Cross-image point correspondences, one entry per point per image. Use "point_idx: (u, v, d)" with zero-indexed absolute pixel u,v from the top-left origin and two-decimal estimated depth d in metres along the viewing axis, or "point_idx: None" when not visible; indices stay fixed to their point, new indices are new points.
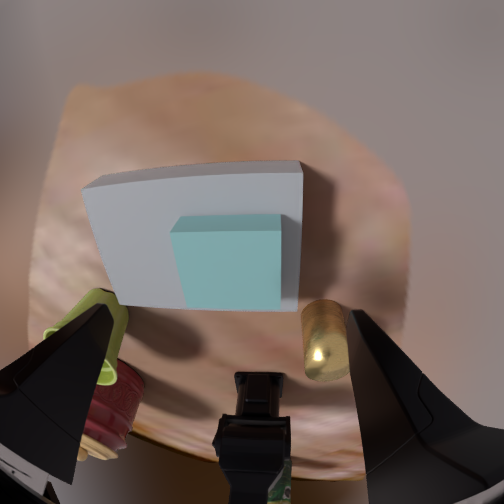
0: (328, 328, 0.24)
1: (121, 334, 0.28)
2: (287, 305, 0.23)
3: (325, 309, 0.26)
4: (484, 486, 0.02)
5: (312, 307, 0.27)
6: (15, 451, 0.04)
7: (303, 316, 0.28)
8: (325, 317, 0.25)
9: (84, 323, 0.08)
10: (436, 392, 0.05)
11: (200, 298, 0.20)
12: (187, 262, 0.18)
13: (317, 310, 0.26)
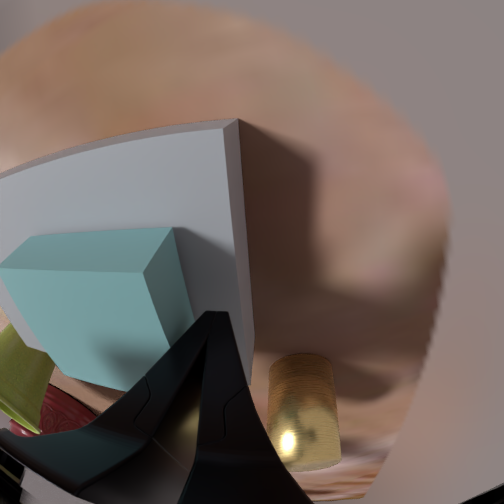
0: (304, 407, 0.14)
1: (43, 377, 0.17)
2: None
3: (303, 372, 0.16)
4: None
5: (284, 366, 0.17)
6: None
7: (270, 376, 0.17)
8: (302, 386, 0.15)
9: (205, 336, 0.08)
10: (247, 410, 0.05)
11: (72, 368, 0.10)
12: (31, 315, 0.08)
13: (291, 372, 0.16)
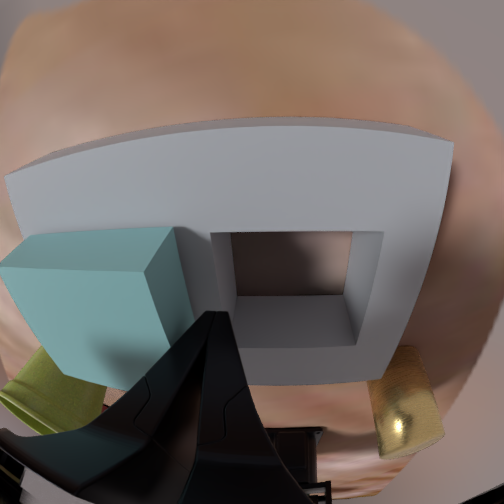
0: (416, 393, 0.13)
1: (100, 396, 0.17)
2: (369, 373, 0.12)
3: (406, 362, 0.15)
4: None
5: None
6: None
7: None
8: (409, 375, 0.14)
9: (205, 336, 0.08)
10: (247, 410, 0.05)
11: (71, 367, 0.10)
12: (31, 314, 0.08)
13: (396, 364, 0.15)
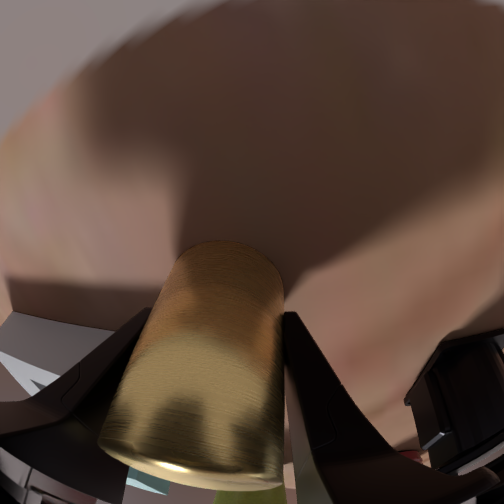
0: None
1: None
2: None
3: None
4: None
5: None
6: (65, 482, 0.04)
7: None
8: None
9: (137, 330, 0.08)
10: (350, 407, 0.05)
11: (152, 490, 0.15)
12: None
13: None
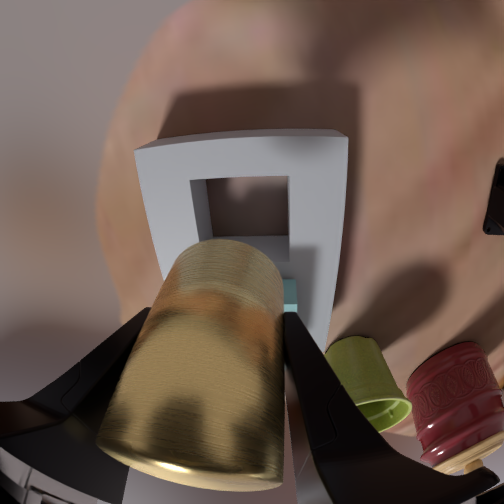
0: None
1: (369, 359, 0.22)
2: (335, 152, 0.14)
3: None
4: None
5: None
6: (65, 482, 0.04)
7: None
8: None
9: (138, 330, 0.08)
10: (350, 407, 0.05)
11: None
12: None
13: None
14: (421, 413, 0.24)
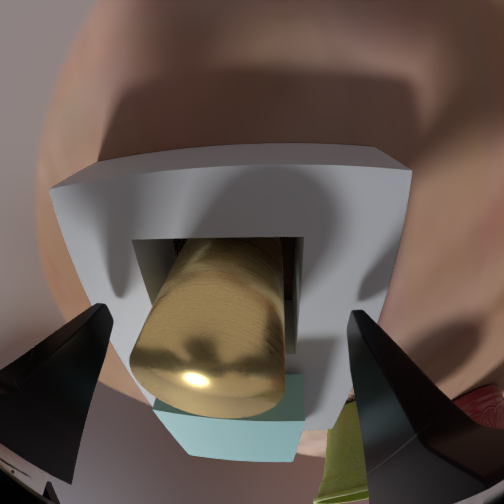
0: None
1: None
2: (388, 196, 0.07)
3: None
4: (485, 486, 0.02)
5: None
6: (15, 451, 0.04)
7: None
8: None
9: (84, 323, 0.08)
10: (437, 392, 0.05)
11: (277, 457, 0.13)
12: (222, 456, 0.13)
13: None
14: None
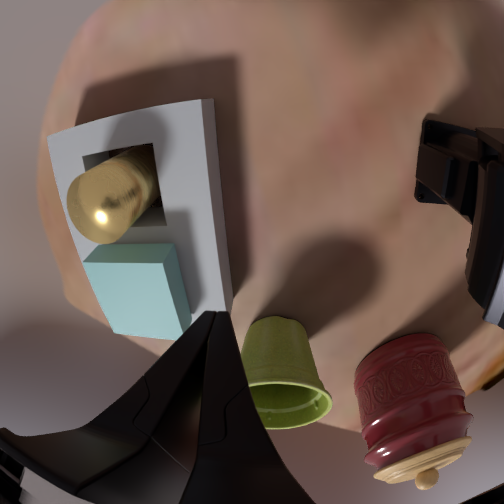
0: None
1: (283, 340, 0.23)
2: (190, 115, 0.14)
3: None
4: None
5: None
6: None
7: None
8: None
9: (205, 336, 0.08)
10: (248, 410, 0.05)
11: (169, 329, 0.19)
12: (133, 328, 0.20)
13: None
14: (364, 410, 0.25)
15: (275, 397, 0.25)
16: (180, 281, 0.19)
